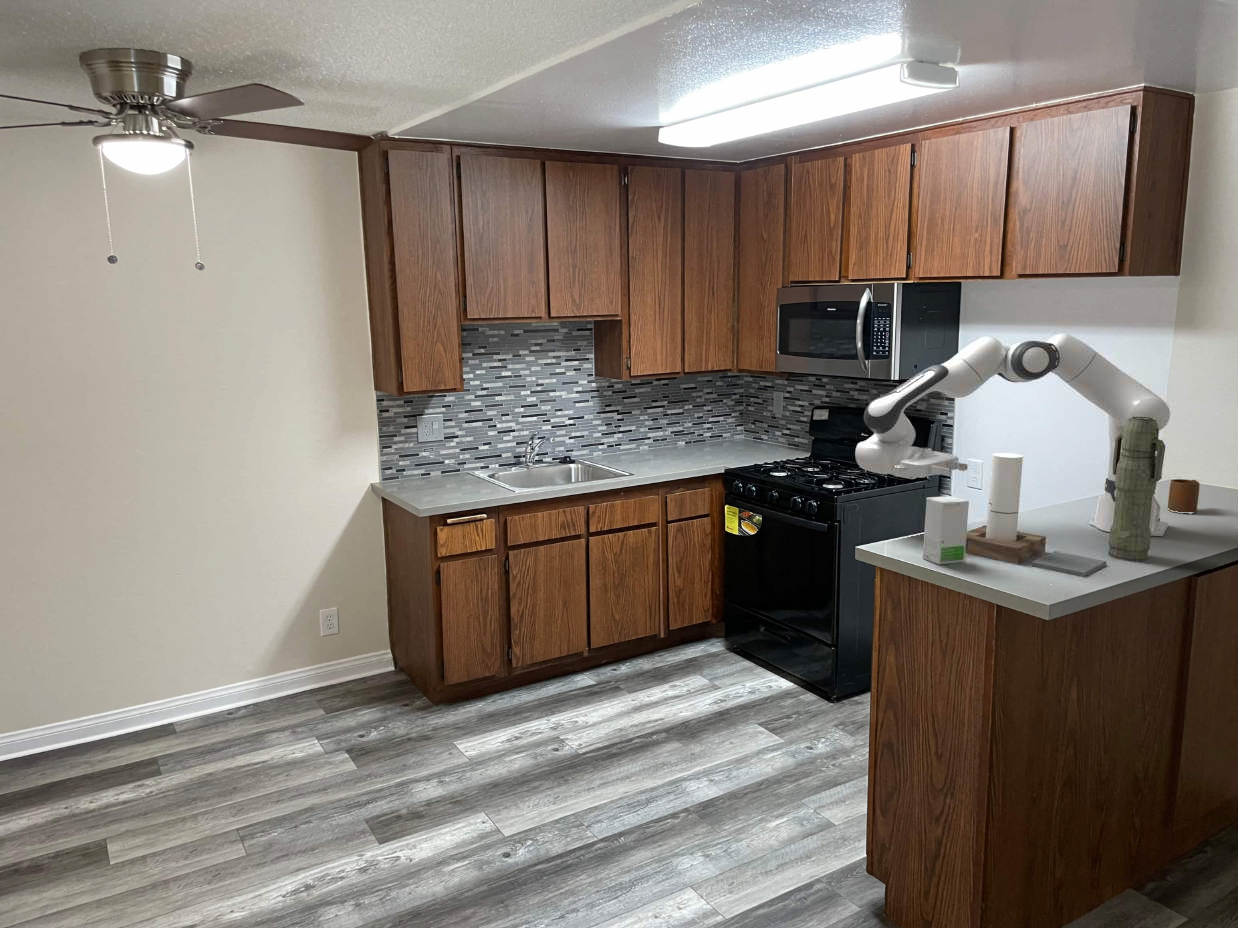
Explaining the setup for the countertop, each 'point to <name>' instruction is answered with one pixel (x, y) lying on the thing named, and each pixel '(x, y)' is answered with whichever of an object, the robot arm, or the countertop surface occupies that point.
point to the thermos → (1135, 487)
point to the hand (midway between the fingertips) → (957, 469)
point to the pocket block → (1004, 546)
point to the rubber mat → (1069, 563)
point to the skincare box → (945, 529)
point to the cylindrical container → (1004, 497)
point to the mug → (1183, 495)
